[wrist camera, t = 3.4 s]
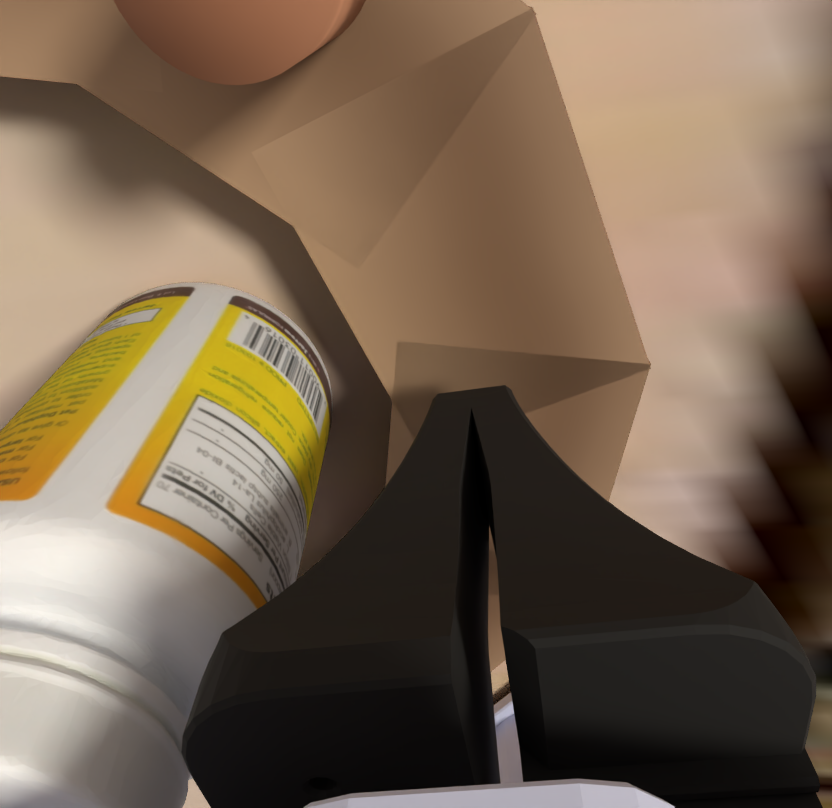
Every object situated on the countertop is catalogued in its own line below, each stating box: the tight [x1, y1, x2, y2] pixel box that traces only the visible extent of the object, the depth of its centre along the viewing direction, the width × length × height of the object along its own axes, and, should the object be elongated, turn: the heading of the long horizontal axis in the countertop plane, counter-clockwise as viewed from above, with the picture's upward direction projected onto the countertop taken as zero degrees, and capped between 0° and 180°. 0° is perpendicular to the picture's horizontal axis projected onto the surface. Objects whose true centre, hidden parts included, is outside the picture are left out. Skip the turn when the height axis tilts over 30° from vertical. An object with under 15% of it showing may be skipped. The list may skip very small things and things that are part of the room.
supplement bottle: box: [0, 282, 332, 808], centre depth 12 cm, size 6×6×10 cm
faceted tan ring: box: [0, 0, 651, 672], centre depth 14 cm, size 25×25×6 cm
